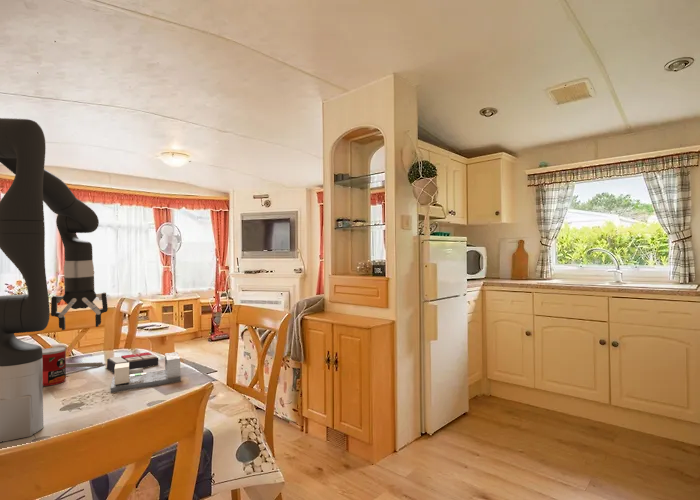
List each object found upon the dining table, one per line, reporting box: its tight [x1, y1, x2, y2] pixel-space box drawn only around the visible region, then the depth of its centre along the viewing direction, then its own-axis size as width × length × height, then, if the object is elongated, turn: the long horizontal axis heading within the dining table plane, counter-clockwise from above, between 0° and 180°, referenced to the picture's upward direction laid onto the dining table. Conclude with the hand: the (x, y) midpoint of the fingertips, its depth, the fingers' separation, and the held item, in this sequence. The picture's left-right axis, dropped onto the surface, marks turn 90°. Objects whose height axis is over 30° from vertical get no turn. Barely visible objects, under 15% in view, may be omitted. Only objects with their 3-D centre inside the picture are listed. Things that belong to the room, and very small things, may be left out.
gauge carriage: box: [113, 362, 144, 385], centre depth 130 cm, size 10×8×5 cm
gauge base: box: [110, 351, 182, 394], centre depth 131 cm, size 12×20×8 cm, turn 119°
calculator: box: [106, 351, 159, 374], centre depth 151 cm, size 11×4×15 cm
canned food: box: [42, 346, 67, 387], centre depth 133 cm, size 8×8×11 cm
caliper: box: [66, 361, 107, 369], centre depth 146 cm, size 20×1×6 cm, turn 138°
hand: (80, 327), depth 121 cm, fingers open, 8 cm apart
